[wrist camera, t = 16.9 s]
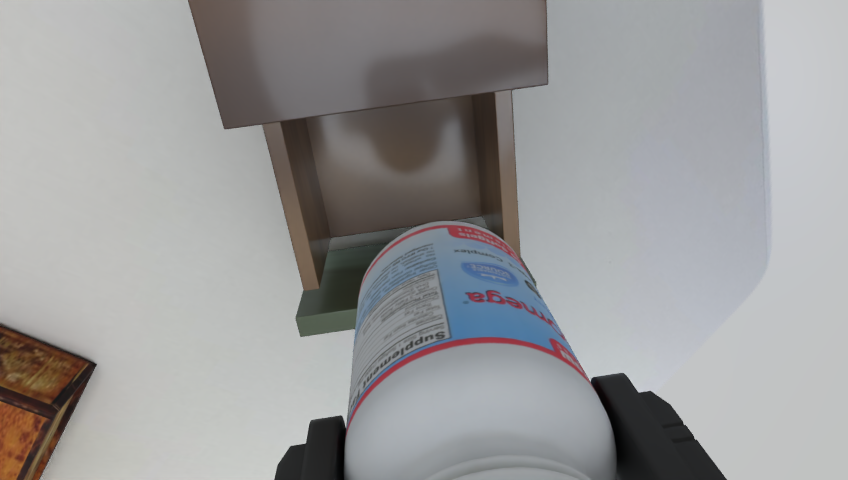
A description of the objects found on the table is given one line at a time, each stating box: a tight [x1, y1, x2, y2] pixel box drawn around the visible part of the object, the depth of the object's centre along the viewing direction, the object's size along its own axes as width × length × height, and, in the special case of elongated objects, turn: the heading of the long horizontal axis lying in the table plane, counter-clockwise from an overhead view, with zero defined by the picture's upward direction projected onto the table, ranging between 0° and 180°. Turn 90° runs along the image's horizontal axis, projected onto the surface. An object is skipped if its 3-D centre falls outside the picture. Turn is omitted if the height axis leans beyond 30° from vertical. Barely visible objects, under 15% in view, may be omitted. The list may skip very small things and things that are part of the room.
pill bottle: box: [344, 221, 617, 480], centre depth 13 cm, size 6×6×11 cm
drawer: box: [262, 90, 536, 337], centre depth 28 cm, size 20×12×8 cm, turn 7°
